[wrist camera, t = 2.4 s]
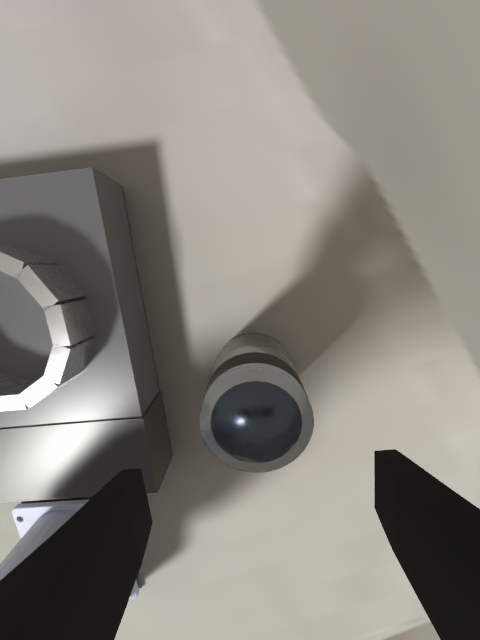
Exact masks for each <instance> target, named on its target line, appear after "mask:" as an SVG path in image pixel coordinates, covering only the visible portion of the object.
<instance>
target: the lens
mask: <svg viewBox="0 0 480 640" xmlns="http://www.w3.org/2000/svg"><path fill="white" fill-rule="evenodd" d="M199 424H200V431H201V435H202V438H203V440H204V442H205V444H206V446H207V447H208V449H209V450H210V451H211V453H212V454H213V455H214V456H215V457H216V458H218V459H219V460H220V461H221V462H223V463H225V464H226V465H228V466H230V467H232V468H235V469H238V470H241V471H246V472H268V471H272V470H276V469H279V468H281V467H283V466H285V465H287V464H289V463H291V462H292V461H294V460H295V459H296V458H297V457H298V456H299V455H300V454H301V453H302V452H303V451H304V449H305V448H306V446H307V445H308V443H309V441H310V438H311V435H312V432H313V426H314V417H313V411H312V407H311V405H310V402H309V400H308V397H307V395H306V392H305V390H304V388H303V386H302V384H301V381H300V379H299V377H298V376H297V374H296V371H295V369H294V367H293V365H292V363H291V360H290V358H289V356H288V354H287V352H286V350H285V349H284V348H283V346H282V345H281V344H280V343H279V342H278V341H276V340H275V339H273V338H271V337H269V336H267V335H263V334H258V333H248V334H243V335H240V336H237V337H235V338H233V339H232V340H230V341H229V342H228V343H227V344H226V345H225V346H224V347H223V348H222V350H221V351H220V353H219V355H218V357H217V360H216V363H215V367H214V370H213V373H212V376H211V379H210V381H209V384H208V387H207V390H206V393H205V396H204V400H203V404H202V407H201V411H200V418H199Z"/></svg>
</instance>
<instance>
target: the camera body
mask: <svg viewBox="0 0 480 640" xmlns="http://www.w3.org/2000/svg"><path fill="white" fill-rule="evenodd" d="M171 458H172V451H171V446H170V440H169V434H168V429H167V423H166V418H165V412H164V407H163V401H162V396H161V392H159V387H158V382H157V376H156V371H155V365H154V360H153V354H152V349H151V343H150V338H149V332H148V327H147V321H146V316H145V310H144V305H143V299H142V294H141V288H140V283H139V277H138V271H137V266H136V260H135V255H134V249H133V244H132V238H131V233H130V227H129V222H128V216H127V211H126V205H125V200H124V194H123V189H122V186H121V185H119V184H118V183H116V182H115V181H113V180H111V179H110V178H108V177H107V176H105V175H104V174H102V173H100V172H99V171H97V170H96V169H94V168H92V167H88V168H81V169H73V170H65V171H57V172H49V173H41V174H34V175H26V176H18V177H10V178H2V179H0V503H7V502H22V501H37V500H51V499H66V498H81V497H93V496H94V495H95V494H96V493H97V492H98V491H99V490H100V489H102V488H103V487H104V486H105V485H106V484H107V483H108V482H109V481H110V480H111V479H112V478H113V477H114V476H116V475H117V474H118V473H119V472H120V471H121V470H126V469H140V468H141V471H142V476H143V481H144V485H145V490H146V493H156V492H158V491H159V488H160V486H161V483H162V481H163V478H164V476H165V473H166V470H167V468H168V465H169V463H170V460H171Z"/></svg>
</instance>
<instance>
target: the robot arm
mask: <svg viewBox="0 0 480 640" xmlns="http://www.w3.org/2000/svg"><path fill="white" fill-rule="evenodd" d="M375 509H376V512H377V514H378V517H379V519H380V522H381V524H382V526H383V529H384V531H385V533H386V536H387V538H388V540H389V543H390V545H391V547H392V550H393V551H394V553H395V555H396V557H397V559H398V561H399V563H400V565H401V567H402V568H403V570H404V572H405V574H406V576H407V578H408V580H409V582H410V583H411V585H412V587H413V589H414V591H415V593H416V595H417V596H418V598H419V600H420V602H421V604H422V606H423V608H424V609H425V611H426V613H427V615H428V617H429V619H430V621H431V622H432V624H433V626H434V628H435V630H436V632H437V633H438V635H439V637H440V639H441V640H480V509H479V508H477V507H476V506H474V505H473V504H471V503H470V502H469V501H467V500H466V499H464V498H463V497H461V496H460V495H459V494H457V493H456V492H454V491H453V490H451V489H450V488H449V487H447V486H446V485H444V484H443V483H442V482H440V481H439V480H438V479H436V478H435V477H433V476H432V475H431V474H429V473H428V472H426V471H425V470H424V469H422V468H421V467H419V466H418V465H417V464H415V463H414V462H413V461H411V460H410V459H408V458H407V457H406V456H404V455H403V454H401V453H400V452H398V451H397V450H382V451H375ZM12 514H13V517H14V520H15V523H16V526H17V529H18V532H19V535H20V538H21V539H20V541H19V542H18V543H17V544H16V546H15V547H14V548H13V549H12V550H11V552H10V553H9V554H8V555H7V556H6V558H5V559H4V560H3V561H2V562H1V564H0V640H114V638H115V636H116V633H117V630H118V627H119V625H120V622H121V619H122V617H123V614H124V611H125V608H126V606H127V603H128V600H134V599H136V598H137V596H138V593H139V588H138V584H137V580H136V578H137V575H138V572H139V570H140V567H141V564H142V560H143V557H144V553H145V549H146V546H147V542H148V538H149V534H150V530H151V526H152V518H151V513H150V508H149V504H148V499H147V494H146V490H145V485H144V481H143V476H142V471H141V468H140V469H126V470H121V471H120V472H119V473H118V474H117V475H116V476H114V477H113V478H112V479H111V480H110V481H109V482H108V483H107V484H106V485H105V486H104V487H103V488H102V489H100V490H99V491H98V492H97V493H96V494H95V495H94V496H93V497H92V498H91V499H87V500H72V501H57V502H42V503H27V504H18V505H17V506H16V507H15V508H14V509H13V510H12Z"/></svg>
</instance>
